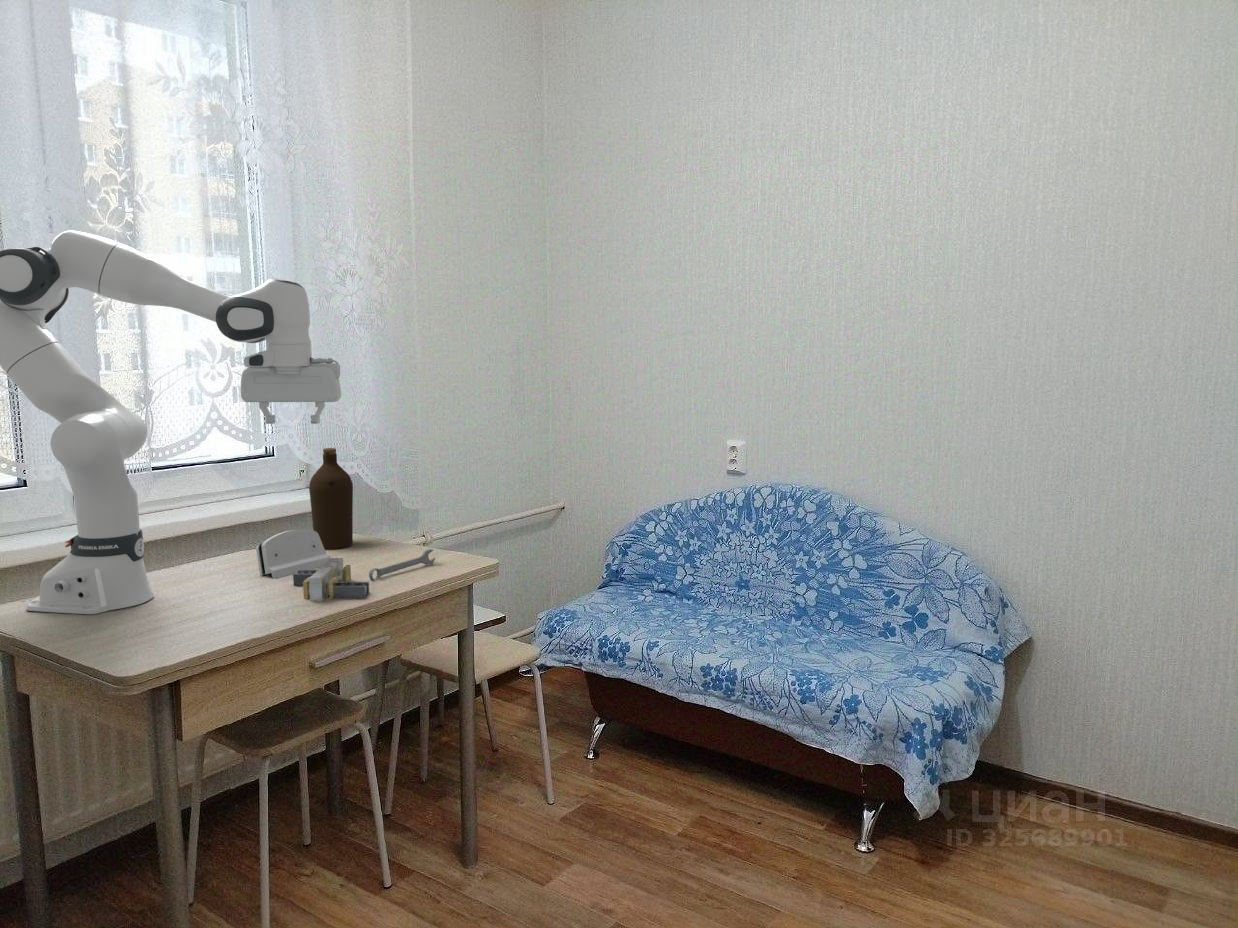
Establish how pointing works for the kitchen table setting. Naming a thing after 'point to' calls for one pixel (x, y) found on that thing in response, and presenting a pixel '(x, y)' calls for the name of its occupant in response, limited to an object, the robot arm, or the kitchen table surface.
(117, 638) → the kitchen table surface
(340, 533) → the olive oil
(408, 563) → the combination wrench
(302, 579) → the ball bearing track
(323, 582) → the long grey beam
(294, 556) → the hinge
